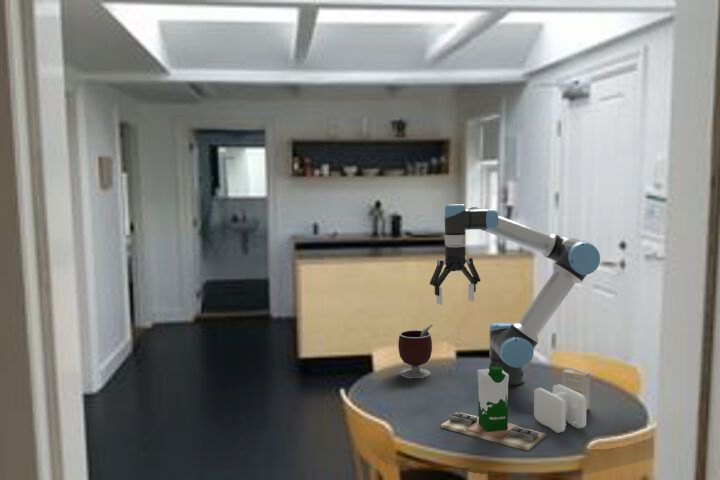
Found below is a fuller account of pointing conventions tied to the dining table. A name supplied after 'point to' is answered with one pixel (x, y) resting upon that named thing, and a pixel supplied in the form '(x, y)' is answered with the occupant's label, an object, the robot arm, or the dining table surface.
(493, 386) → the soya milk
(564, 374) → the supplement box
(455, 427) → the board with end clamps
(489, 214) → the robot arm
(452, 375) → the dining table surface
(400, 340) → the mate gourd
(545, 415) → the cable organizer
